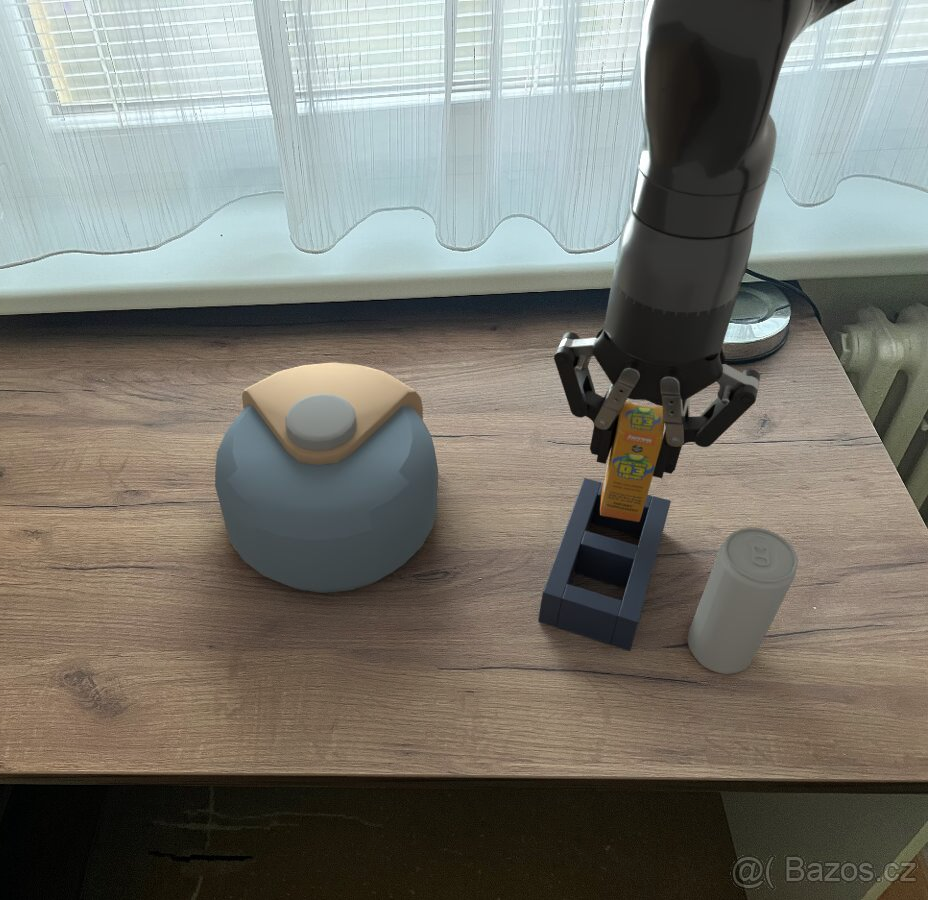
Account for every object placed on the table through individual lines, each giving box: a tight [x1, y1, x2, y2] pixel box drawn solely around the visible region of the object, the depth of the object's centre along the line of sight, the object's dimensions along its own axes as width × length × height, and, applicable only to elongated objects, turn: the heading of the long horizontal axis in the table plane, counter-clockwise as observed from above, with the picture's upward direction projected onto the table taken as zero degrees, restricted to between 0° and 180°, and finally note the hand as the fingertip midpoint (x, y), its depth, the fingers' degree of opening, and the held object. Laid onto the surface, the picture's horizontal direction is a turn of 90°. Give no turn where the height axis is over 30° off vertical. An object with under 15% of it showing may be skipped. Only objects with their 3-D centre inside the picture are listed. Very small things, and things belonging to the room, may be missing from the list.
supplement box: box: [600, 401, 665, 522], centre depth 67 cm, size 3×3×10 cm
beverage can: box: [686, 527, 799, 675], centre depth 63 cm, size 5×5×12 cm
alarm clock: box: [214, 362, 439, 594], centre depth 76 cm, size 19×20×12 cm
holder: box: [538, 477, 672, 652], centre depth 71 cm, size 7×13×4 cm, turn 154°
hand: (631, 462), depth 67 cm, fingers closed on supplement box, 3 cm apart
